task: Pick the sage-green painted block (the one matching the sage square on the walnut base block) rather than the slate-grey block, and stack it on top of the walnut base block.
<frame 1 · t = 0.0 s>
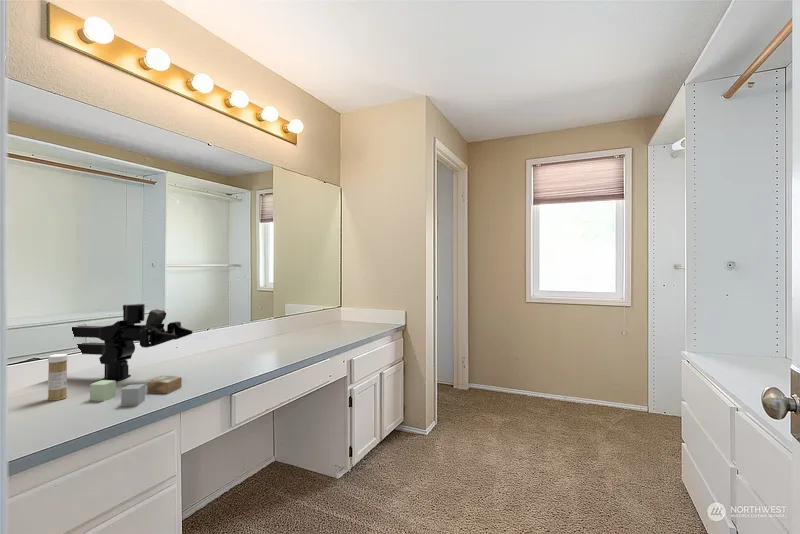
hand: (184, 334, 143), 17 cm above the worktop, tool horizontal, fingers open, 9 cm apart
sprinkles bottle: (57, 399, 123), on the worktop
slate block: (133, 403, 121), on the worktop
base block: (164, 389, 134), on the worktop
sage block: (103, 398, 125), on the worktop
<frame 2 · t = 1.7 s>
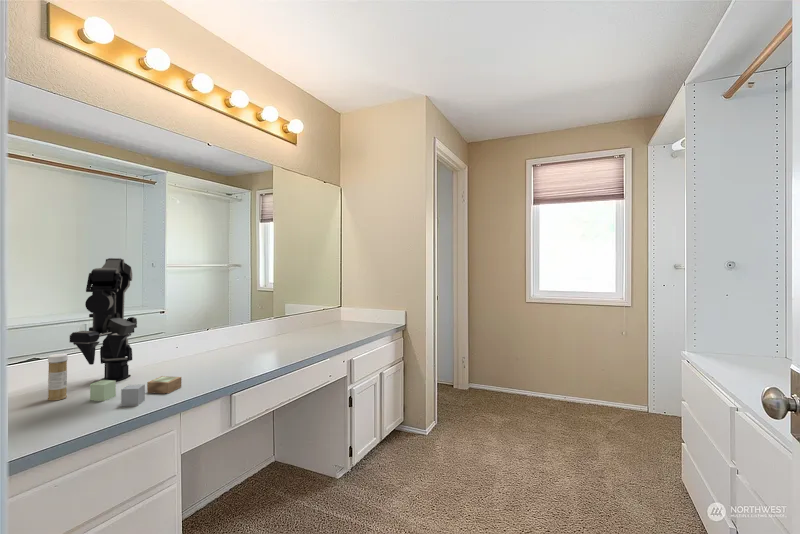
hand: (103, 360, 125), 11 cm above the worktop, tool pointing down, fingers open, 9 cm apart
nothing on the worktop moved.
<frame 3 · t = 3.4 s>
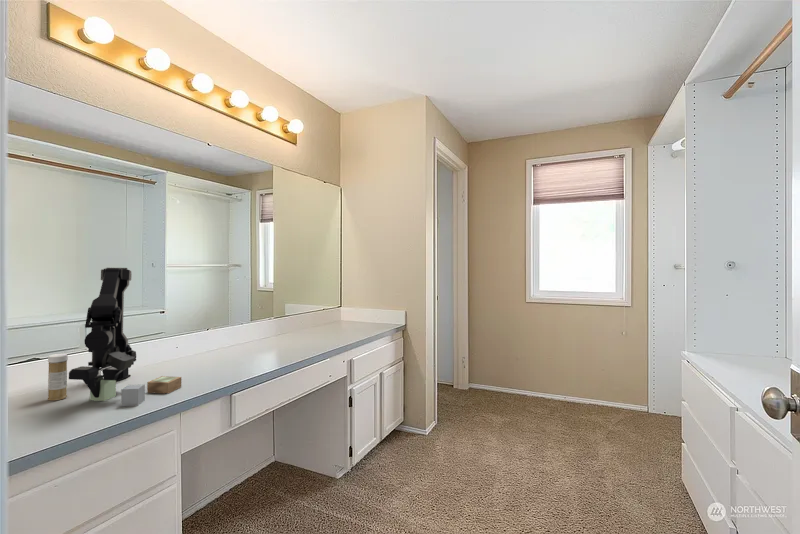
hand: (103, 394, 125), 1 cm above the worktop, tool pointing down, fingers closed on sage block, 4 cm apart
sage block: (103, 398, 125), on the worktop, touching gripper
everything else where it was.
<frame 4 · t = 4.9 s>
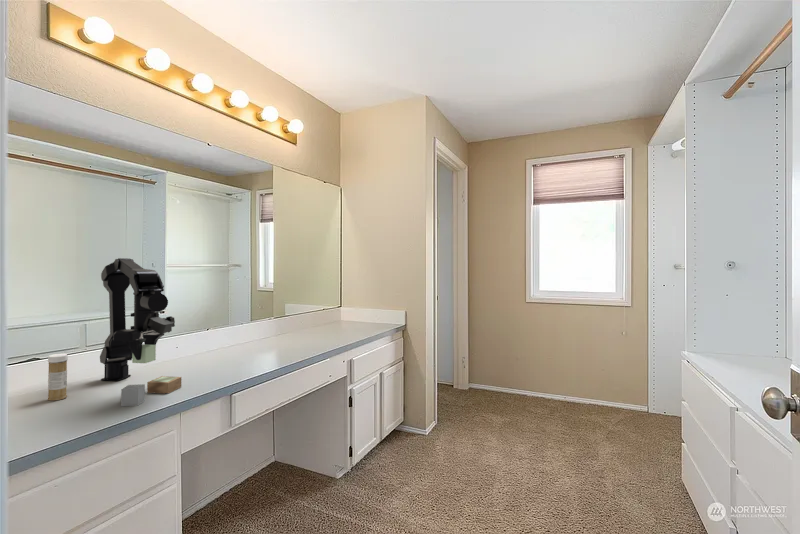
hand: (144, 358, 130), 11 cm above the worktop, tool pointing down, fingers closed on sage block, 4 cm apart
sage block: (144, 361, 130), point 10 cm above the worktop, touching gripper
everything else where it was.
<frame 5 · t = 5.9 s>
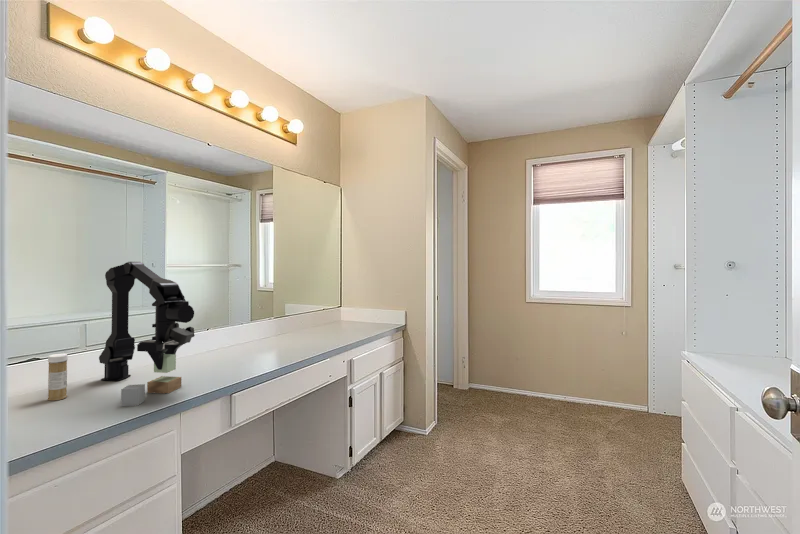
hand: (164, 367, 134), 7 cm above the worktop, tool pointing down, fingers closed on sage block, 4 cm apart
sage block: (164, 370, 134), point 6 cm above the worktop, touching gripper
everything else where it was.
when the fingers open (6 cm above the worktop, at t = 6.4 s): sage block drops 2 cm, resting on base block.
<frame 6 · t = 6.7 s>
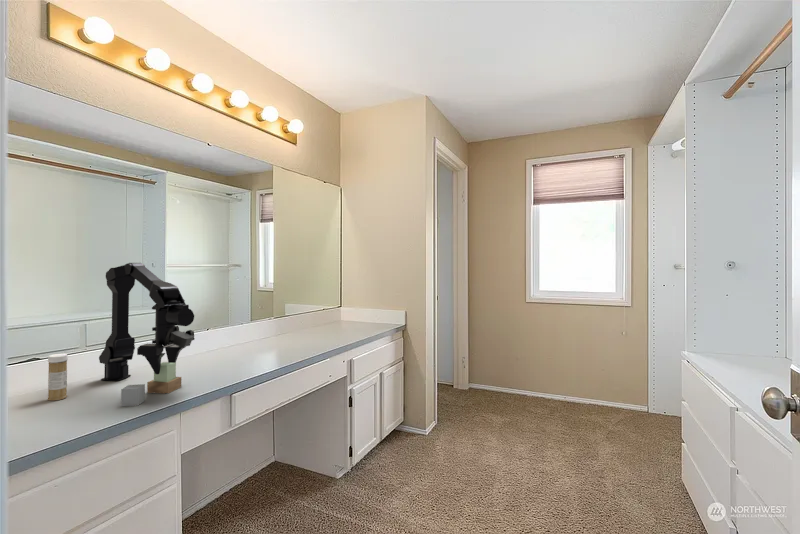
hand: (164, 371, 134), 6 cm above the worktop, tool pointing down, fingers open, 7 cm apart
sage block: (164, 379, 134), point 3 cm above the worktop, touching base block
everything else where it was.
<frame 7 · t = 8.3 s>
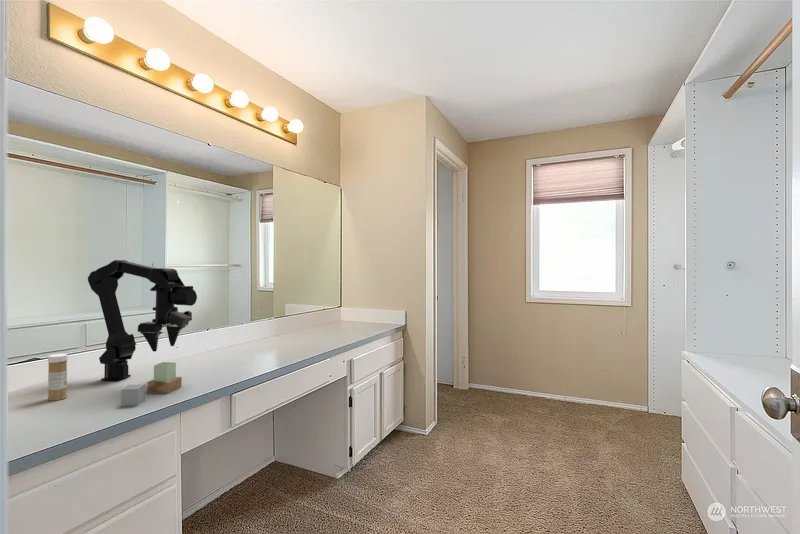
hand: (163, 348, 142), 12 cm above the worktop, tool pointing down, fingers open, 9 cm apart
nothing on the worktop moved.
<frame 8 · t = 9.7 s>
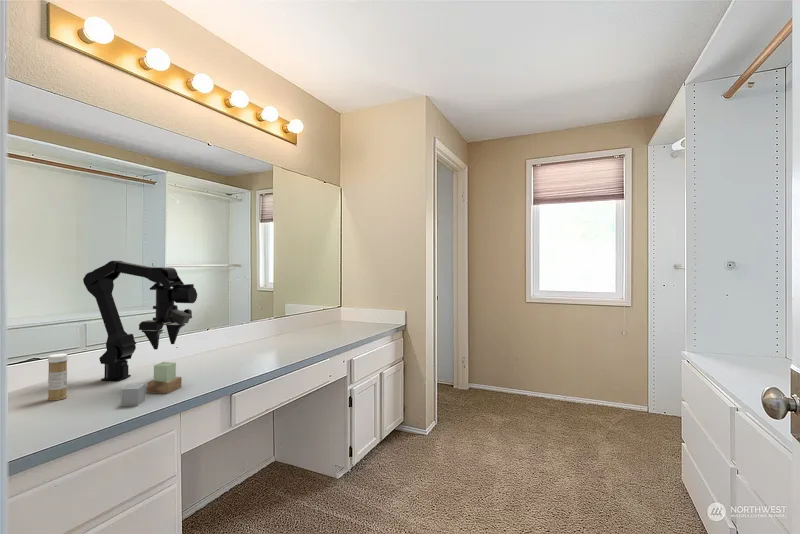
hand: (164, 346, 144), 12 cm above the worktop, tool pointing down, fingers open, 9 cm apart
nothing on the worktop moved.
at the end: sage block 0.0 cm off-centre on the base block, point 3.5 cm above the base block's base; sage block tilted 0°; slate block moved 0.1 cm from its start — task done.
